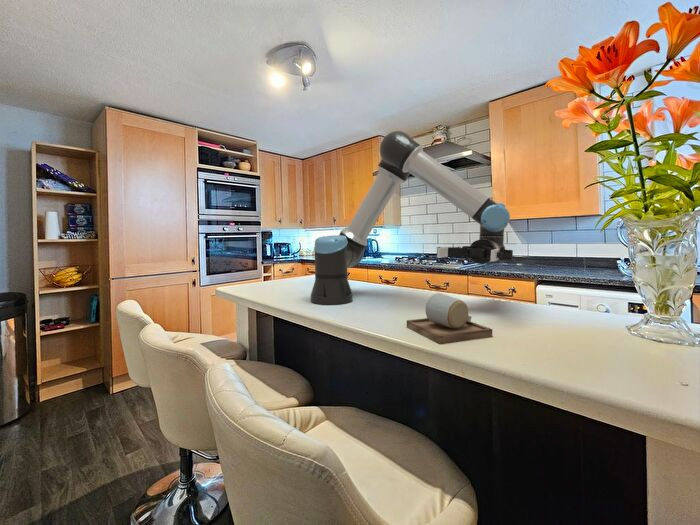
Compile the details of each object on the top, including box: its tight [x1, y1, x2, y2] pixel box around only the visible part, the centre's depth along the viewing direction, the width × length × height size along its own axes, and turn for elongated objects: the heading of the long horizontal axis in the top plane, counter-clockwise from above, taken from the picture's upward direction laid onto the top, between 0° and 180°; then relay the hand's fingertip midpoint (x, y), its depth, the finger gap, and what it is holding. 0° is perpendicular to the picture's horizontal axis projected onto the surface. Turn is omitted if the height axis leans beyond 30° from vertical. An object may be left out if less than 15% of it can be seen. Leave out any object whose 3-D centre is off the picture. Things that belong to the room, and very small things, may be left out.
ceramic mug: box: [424, 292, 472, 329], centre depth 77 cm, size 10×8×7 cm
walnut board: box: [406, 317, 493, 345], centre depth 76 cm, size 14×14×2 cm
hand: (464, 254), depth 83 cm, fingers open, 13 cm apart
